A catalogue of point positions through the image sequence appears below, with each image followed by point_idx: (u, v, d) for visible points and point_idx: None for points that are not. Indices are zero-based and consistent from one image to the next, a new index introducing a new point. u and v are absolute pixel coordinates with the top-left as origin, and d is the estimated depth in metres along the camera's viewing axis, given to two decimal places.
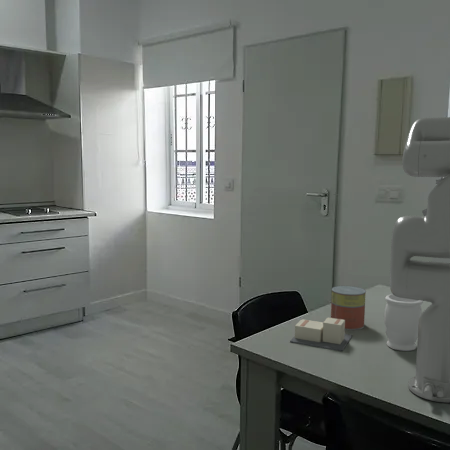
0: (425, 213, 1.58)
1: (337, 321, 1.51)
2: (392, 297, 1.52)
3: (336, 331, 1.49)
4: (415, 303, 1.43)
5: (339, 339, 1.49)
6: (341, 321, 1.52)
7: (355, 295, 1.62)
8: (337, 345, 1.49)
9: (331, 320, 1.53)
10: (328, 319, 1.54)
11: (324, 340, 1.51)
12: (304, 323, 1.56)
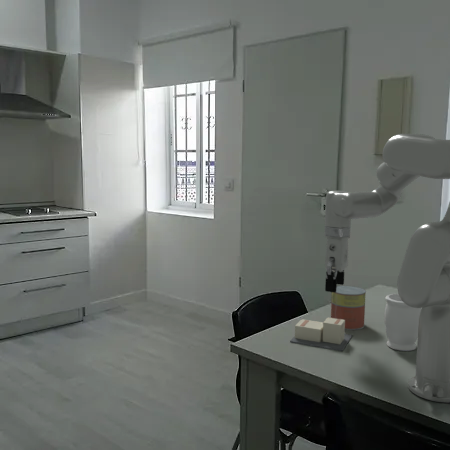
0: (331, 269, 1.43)
1: (337, 321, 1.51)
2: (392, 297, 1.52)
3: (336, 331, 1.49)
4: None
5: (339, 339, 1.49)
6: (341, 321, 1.52)
7: (355, 295, 1.62)
8: (337, 345, 1.49)
9: (331, 320, 1.53)
10: (328, 319, 1.54)
11: (324, 340, 1.51)
12: (304, 323, 1.56)
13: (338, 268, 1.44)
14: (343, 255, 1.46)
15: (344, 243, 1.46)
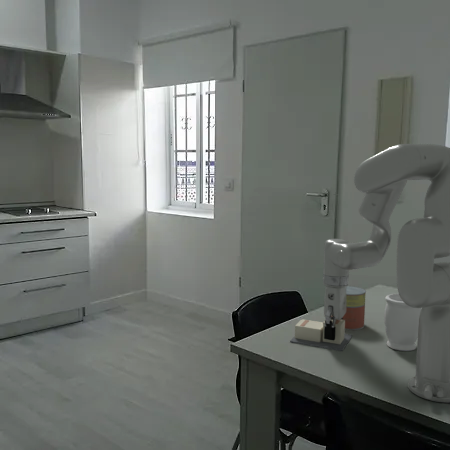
0: (330, 318, 1.45)
1: (337, 321, 1.51)
2: (392, 297, 1.52)
3: (336, 331, 1.49)
4: None
5: (339, 339, 1.49)
6: (341, 321, 1.52)
7: (355, 295, 1.62)
8: (337, 345, 1.49)
9: None
10: None
11: (324, 340, 1.51)
12: (304, 323, 1.56)
13: (337, 316, 1.46)
14: (341, 303, 1.48)
15: (342, 291, 1.48)
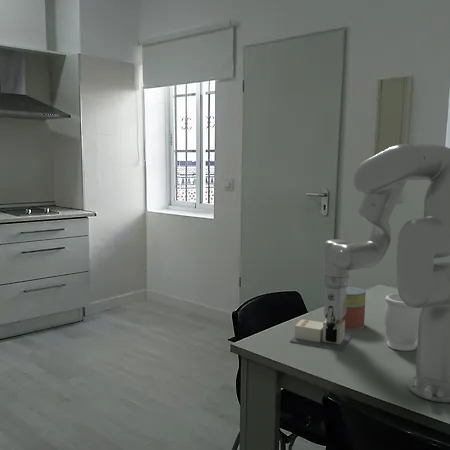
0: (331, 321, 1.46)
1: (337, 321, 1.51)
2: (392, 297, 1.52)
3: None
4: None
5: (339, 339, 1.49)
6: (341, 321, 1.52)
7: (355, 295, 1.62)
8: (337, 345, 1.49)
9: None
10: None
11: (324, 340, 1.51)
12: (304, 323, 1.56)
13: (337, 317, 1.46)
14: (341, 304, 1.48)
15: (342, 292, 1.48)
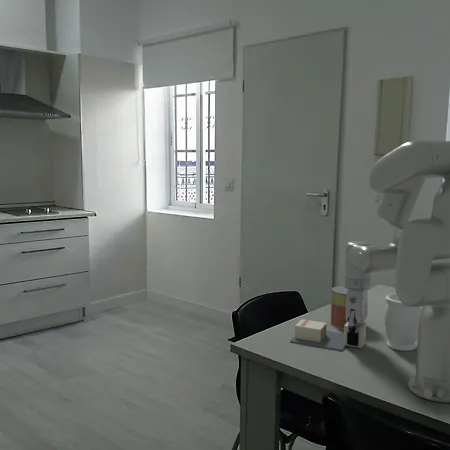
0: (353, 325, 1.43)
1: (358, 324, 1.49)
2: (392, 297, 1.52)
3: None
4: None
5: (361, 343, 1.46)
6: (362, 324, 1.49)
7: None
8: (337, 345, 1.49)
9: None
10: None
11: (345, 344, 1.48)
12: (304, 323, 1.56)
13: (359, 320, 1.43)
14: (363, 307, 1.45)
15: (364, 295, 1.45)
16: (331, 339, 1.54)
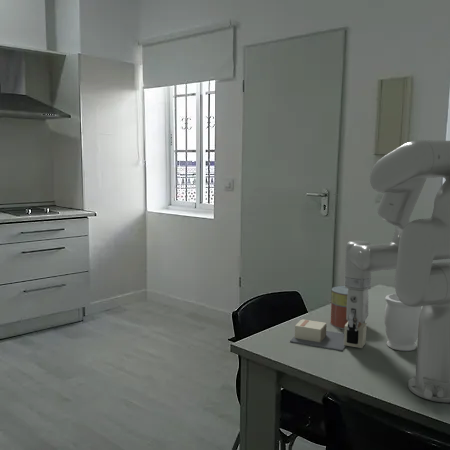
0: (353, 321, 1.41)
1: (359, 324, 1.49)
2: (392, 297, 1.52)
3: (358, 335, 1.46)
4: None
5: (361, 343, 1.46)
6: (363, 324, 1.49)
7: None
8: (337, 345, 1.49)
9: None
10: None
11: (345, 344, 1.48)
12: (304, 323, 1.56)
13: (360, 319, 1.43)
14: (364, 306, 1.45)
15: (365, 294, 1.45)
16: (331, 339, 1.54)
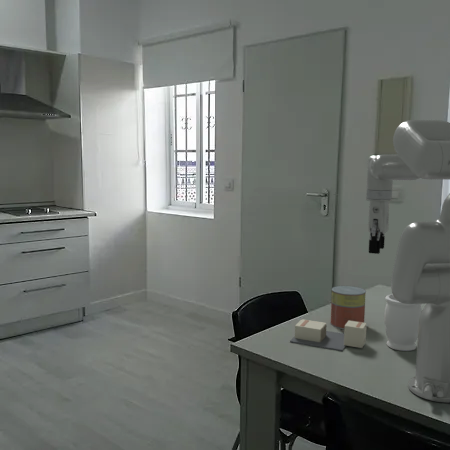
0: (375, 230, 1.47)
1: (359, 324, 1.49)
2: (392, 297, 1.52)
3: (358, 335, 1.46)
4: None
5: (361, 343, 1.46)
6: (363, 324, 1.49)
7: (355, 295, 1.62)
8: (337, 345, 1.49)
9: (352, 323, 1.50)
10: (349, 322, 1.51)
11: (345, 344, 1.48)
12: (304, 323, 1.56)
13: (382, 229, 1.48)
14: (386, 217, 1.50)
15: (386, 206, 1.50)
16: (331, 339, 1.54)
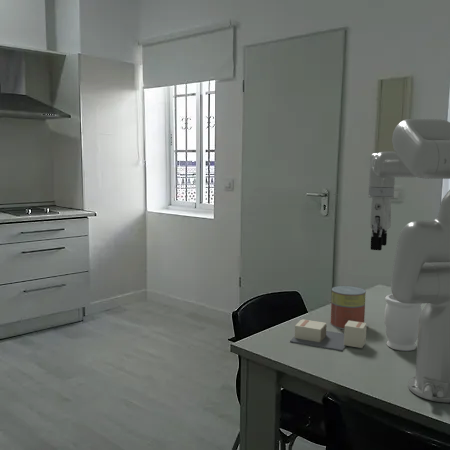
0: (377, 226, 1.48)
1: (359, 324, 1.49)
2: (392, 297, 1.52)
3: (358, 335, 1.46)
4: None
5: (361, 343, 1.46)
6: (363, 324, 1.49)
7: (355, 295, 1.62)
8: (337, 345, 1.49)
9: (352, 323, 1.50)
10: (349, 322, 1.51)
11: (345, 344, 1.48)
12: (304, 323, 1.56)
13: (384, 226, 1.50)
14: (388, 214, 1.51)
15: (388, 203, 1.51)
16: (331, 339, 1.54)
